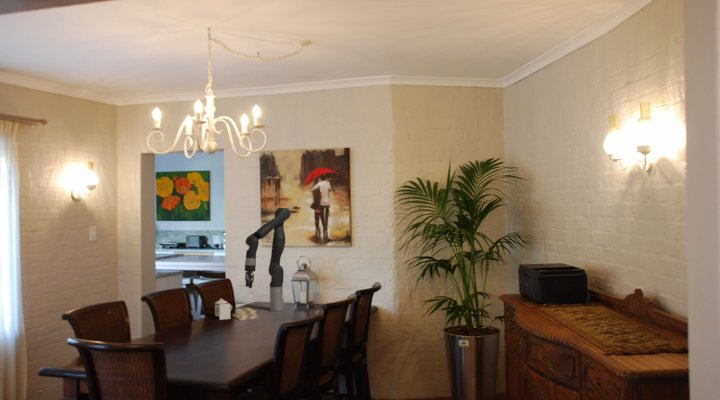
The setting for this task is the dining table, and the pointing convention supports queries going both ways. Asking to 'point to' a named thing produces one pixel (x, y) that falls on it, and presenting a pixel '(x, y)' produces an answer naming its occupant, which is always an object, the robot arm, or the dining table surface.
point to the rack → (245, 314)
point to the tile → (224, 311)
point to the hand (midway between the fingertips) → (248, 287)
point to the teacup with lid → (218, 306)
